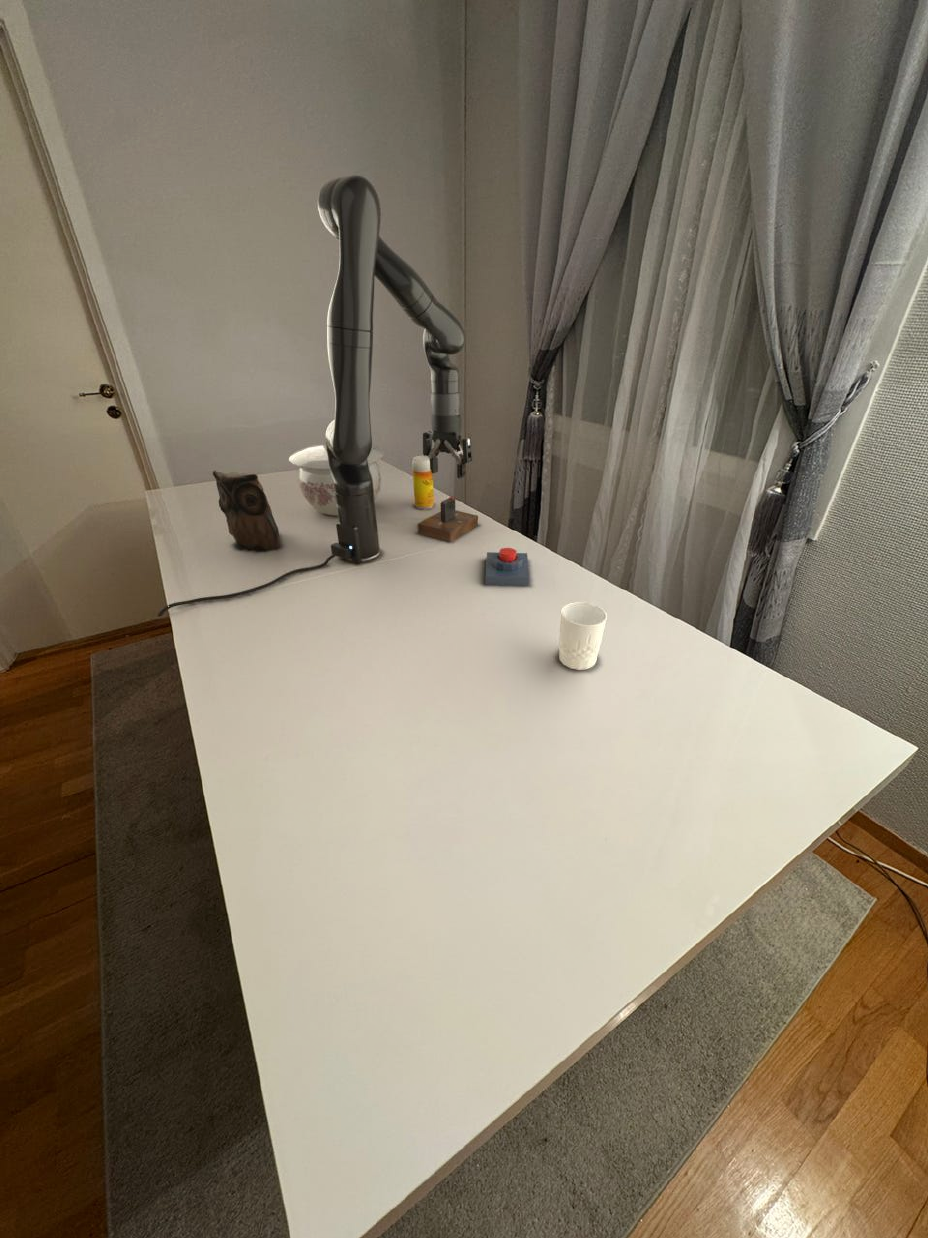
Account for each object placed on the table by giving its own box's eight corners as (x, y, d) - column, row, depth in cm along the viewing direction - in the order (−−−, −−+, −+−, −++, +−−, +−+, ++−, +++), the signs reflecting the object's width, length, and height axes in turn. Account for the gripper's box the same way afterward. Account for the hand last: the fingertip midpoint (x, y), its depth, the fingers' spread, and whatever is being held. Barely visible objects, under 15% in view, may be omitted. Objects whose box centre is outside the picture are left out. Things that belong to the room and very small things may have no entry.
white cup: (601, 651, 98) (609, 606, 92) (596, 676, 92) (604, 629, 86) (559, 643, 100) (565, 598, 95) (552, 667, 94) (557, 621, 88)
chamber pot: (381, 525, 150) (374, 452, 139) (287, 525, 150) (272, 452, 139) (393, 493, 173) (388, 428, 162) (312, 492, 174) (301, 428, 163)
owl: (283, 549, 136) (267, 474, 125) (232, 558, 132) (210, 481, 121) (276, 532, 146) (261, 460, 135) (229, 540, 142) (209, 466, 131)
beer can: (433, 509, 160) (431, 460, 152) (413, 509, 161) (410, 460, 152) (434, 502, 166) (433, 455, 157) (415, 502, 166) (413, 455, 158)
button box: (528, 586, 119) (529, 570, 117) (485, 584, 120) (485, 569, 118) (526, 561, 130) (527, 546, 128) (486, 560, 131) (487, 545, 129)
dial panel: (450, 542, 140) (450, 531, 138) (418, 533, 145) (417, 522, 143) (477, 525, 150) (478, 515, 148) (446, 517, 155) (446, 507, 153)
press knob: (516, 563, 121) (516, 555, 120) (499, 562, 121) (499, 554, 120) (515, 555, 125) (516, 547, 124) (499, 555, 125) (499, 547, 124)
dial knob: (445, 522, 144) (445, 502, 141) (440, 521, 144) (440, 501, 141) (455, 516, 147) (455, 497, 144) (451, 515, 148) (450, 496, 145)
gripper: (414, 410, 131) (418, 474, 140) (461, 416, 124) (461, 483, 133) (432, 405, 136) (434, 467, 145) (477, 411, 129) (477, 475, 138)
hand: (447, 474), depth 139 cm, fingers open, 8 cm apart
